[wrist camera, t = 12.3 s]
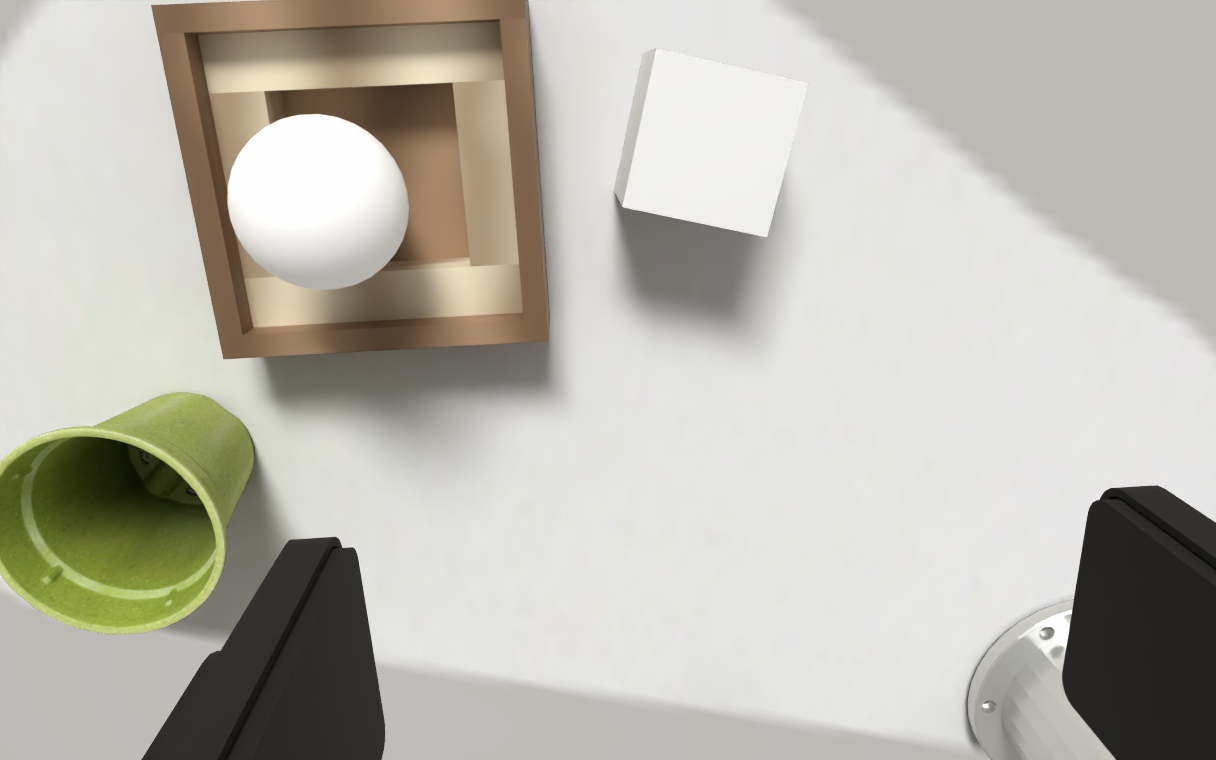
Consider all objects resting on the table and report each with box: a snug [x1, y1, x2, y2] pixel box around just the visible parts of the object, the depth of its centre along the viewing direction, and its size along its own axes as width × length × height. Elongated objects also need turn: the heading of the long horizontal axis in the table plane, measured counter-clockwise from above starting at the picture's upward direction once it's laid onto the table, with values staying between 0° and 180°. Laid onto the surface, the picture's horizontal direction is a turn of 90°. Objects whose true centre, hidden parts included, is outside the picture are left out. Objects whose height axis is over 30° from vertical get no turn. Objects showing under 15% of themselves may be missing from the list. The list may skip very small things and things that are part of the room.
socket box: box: [151, 0, 550, 359], centre depth 36 cm, size 14×14×4 cm
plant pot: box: [0, 393, 254, 634], centre depth 38 cm, size 9×9×9 cm
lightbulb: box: [227, 114, 409, 290], centre depth 32 cm, size 6×6×11 cm
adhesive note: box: [614, 48, 809, 237], centre depth 35 cm, size 6×6×6 cm
